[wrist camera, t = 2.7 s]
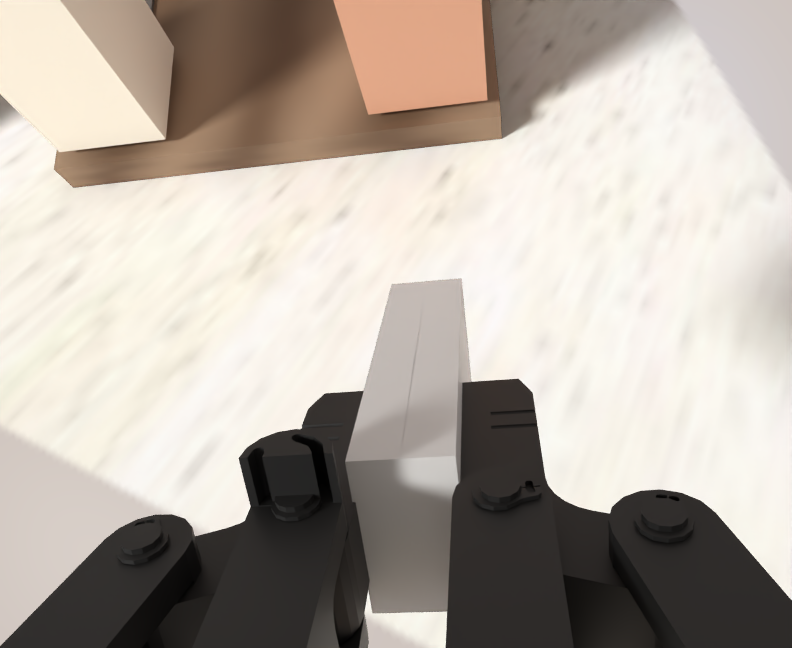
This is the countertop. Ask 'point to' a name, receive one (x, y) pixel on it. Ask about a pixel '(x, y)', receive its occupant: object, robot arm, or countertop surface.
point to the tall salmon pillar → (415, 52)
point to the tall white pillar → (86, 70)
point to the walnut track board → (272, 96)
